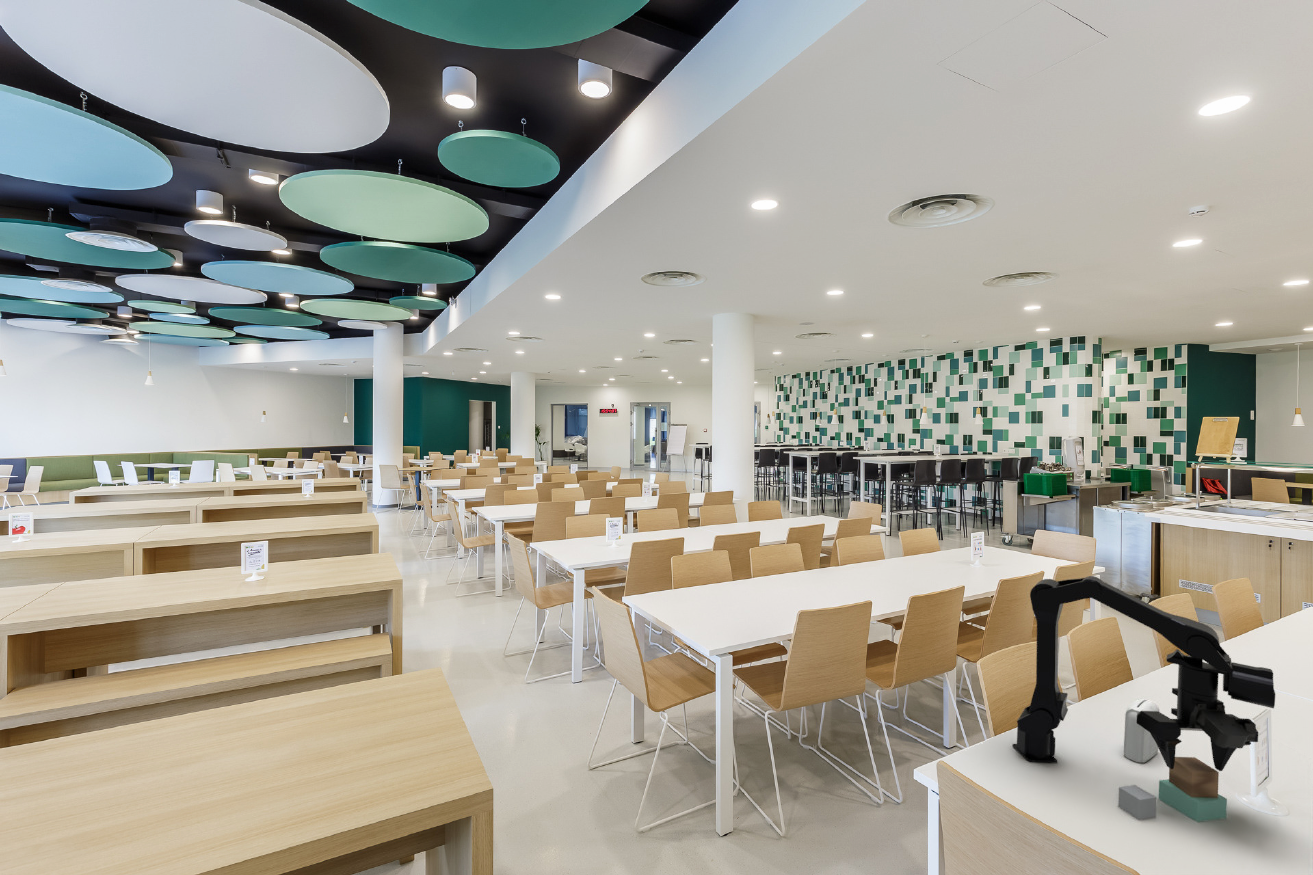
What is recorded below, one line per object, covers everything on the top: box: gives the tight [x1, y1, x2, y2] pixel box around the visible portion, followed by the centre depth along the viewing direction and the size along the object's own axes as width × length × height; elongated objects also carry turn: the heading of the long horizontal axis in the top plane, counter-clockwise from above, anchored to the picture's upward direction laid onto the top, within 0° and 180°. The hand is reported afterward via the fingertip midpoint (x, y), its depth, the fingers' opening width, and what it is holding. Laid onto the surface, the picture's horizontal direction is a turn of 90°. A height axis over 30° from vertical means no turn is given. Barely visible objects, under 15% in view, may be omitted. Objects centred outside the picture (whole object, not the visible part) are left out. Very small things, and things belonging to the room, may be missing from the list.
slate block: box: [1117, 784, 1158, 821], centre depth 113 cm, size 4×4×4 cm
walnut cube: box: [1168, 756, 1220, 798], centre depth 114 cm, size 5×5×5 cm
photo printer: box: [1123, 698, 1161, 764], centre depth 133 cm, size 10×4×12 cm, turn 123°
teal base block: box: [1158, 778, 1228, 823], centre depth 114 cm, size 7×7×4 cm
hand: (1194, 768), depth 114 cm, fingers open, 9 cm apart
